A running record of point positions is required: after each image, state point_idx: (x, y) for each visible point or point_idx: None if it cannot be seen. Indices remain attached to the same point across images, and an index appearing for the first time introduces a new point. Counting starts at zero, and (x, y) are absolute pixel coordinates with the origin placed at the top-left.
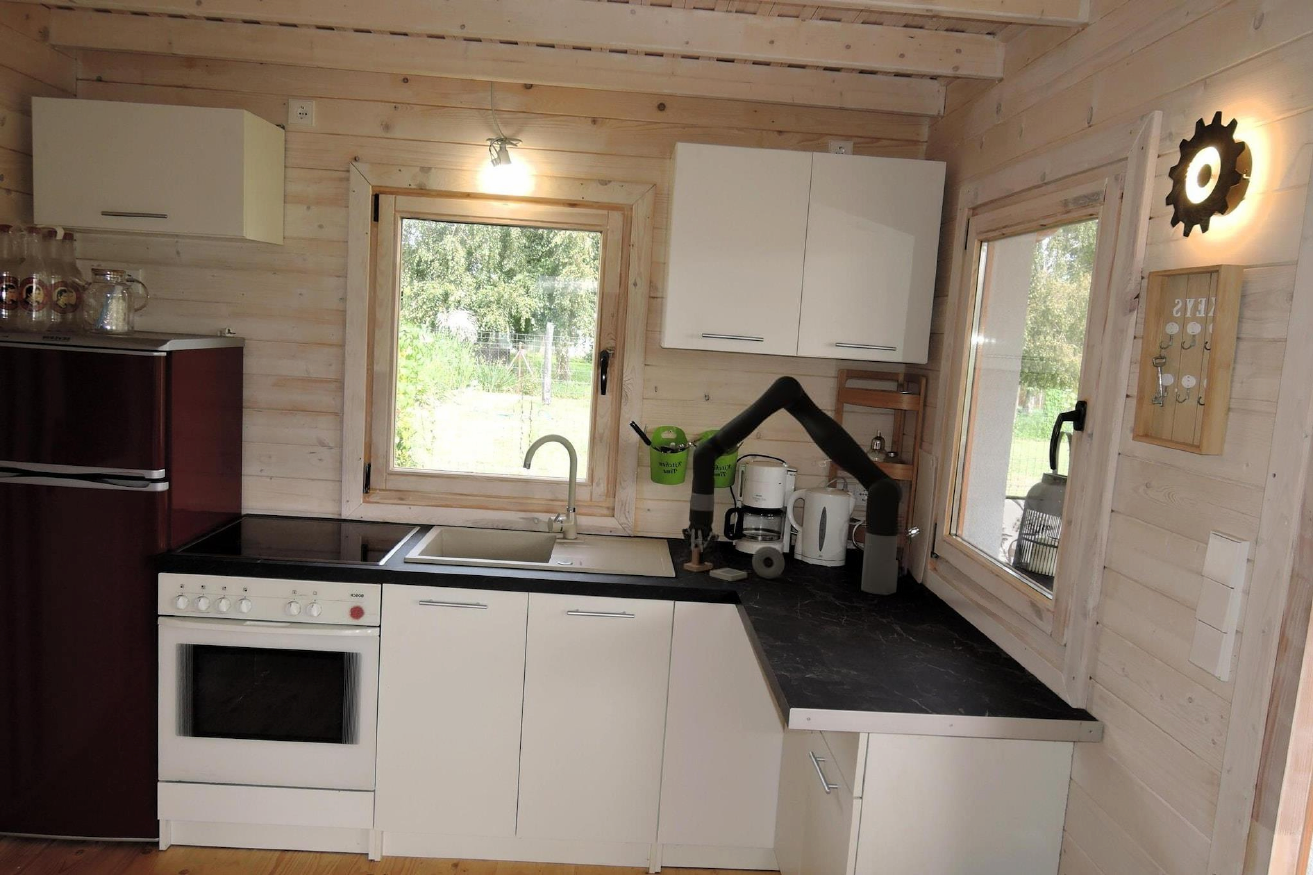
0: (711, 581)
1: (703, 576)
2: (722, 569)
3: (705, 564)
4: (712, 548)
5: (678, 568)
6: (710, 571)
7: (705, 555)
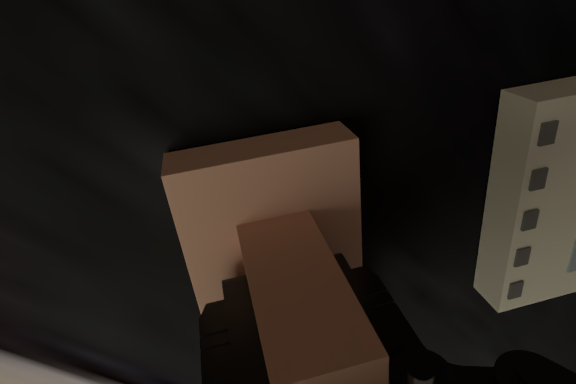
0: (552, 344)
1: (455, 328)
2: (547, 192)
3: (334, 228)
4: (571, 374)
5: (179, 374)
6: (501, 308)
7: (405, 331)
